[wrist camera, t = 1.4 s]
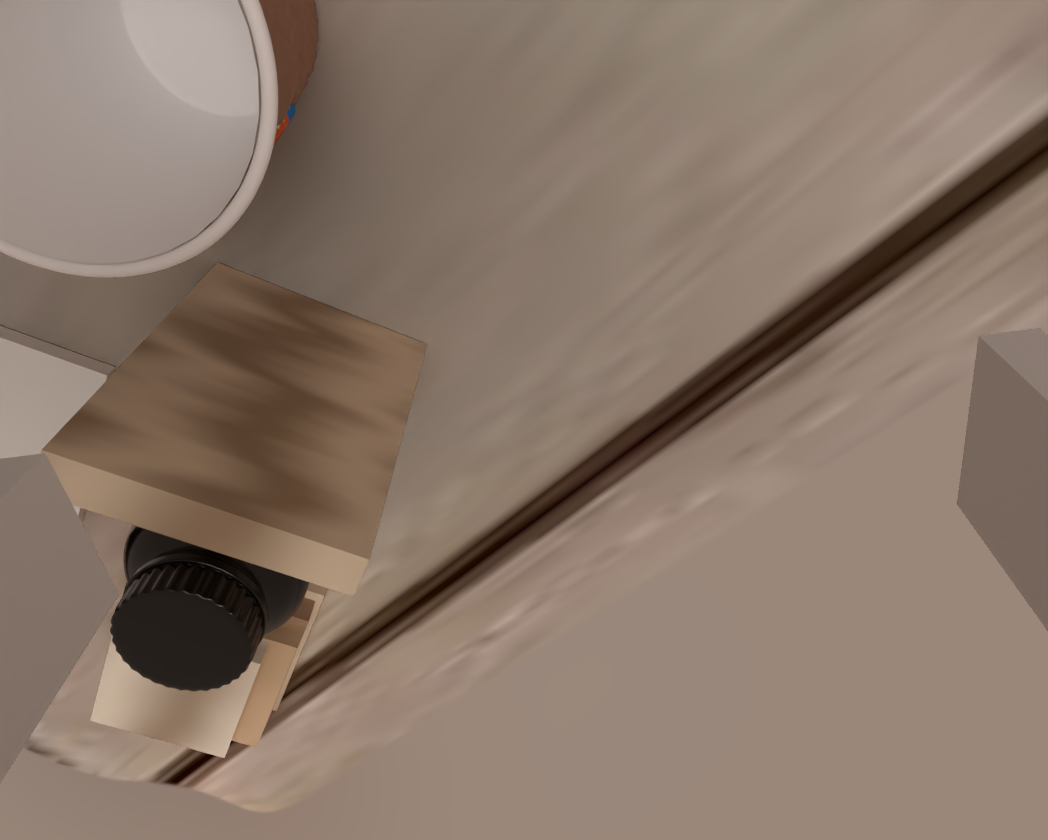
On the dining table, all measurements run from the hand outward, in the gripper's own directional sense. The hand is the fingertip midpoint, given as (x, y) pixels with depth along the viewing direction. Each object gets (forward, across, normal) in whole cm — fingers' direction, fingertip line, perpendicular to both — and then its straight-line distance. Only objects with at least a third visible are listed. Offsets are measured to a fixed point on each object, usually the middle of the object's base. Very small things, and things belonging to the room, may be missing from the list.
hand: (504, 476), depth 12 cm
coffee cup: (+22, -10, +6) cm, 25 cm away
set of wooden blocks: (+22, -16, -16) cm, 31 cm away
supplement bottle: (+22, -14, -12) cm, 29 cm away
